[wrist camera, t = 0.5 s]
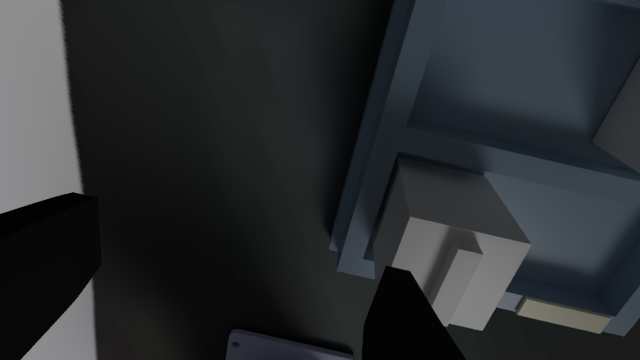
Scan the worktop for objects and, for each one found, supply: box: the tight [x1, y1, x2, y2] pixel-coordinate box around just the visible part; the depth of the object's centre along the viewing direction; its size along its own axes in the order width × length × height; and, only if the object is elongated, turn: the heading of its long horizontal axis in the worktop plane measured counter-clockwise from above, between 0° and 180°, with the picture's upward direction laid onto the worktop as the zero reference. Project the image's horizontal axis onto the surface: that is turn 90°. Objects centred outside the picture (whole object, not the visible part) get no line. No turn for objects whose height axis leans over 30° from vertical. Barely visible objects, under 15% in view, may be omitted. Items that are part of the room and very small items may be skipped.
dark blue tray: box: [329, 0, 640, 336], centre depth 16 cm, size 14×19×3 cm
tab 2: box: [372, 156, 532, 331], centre depth 15 cm, size 4×4×6 cm
